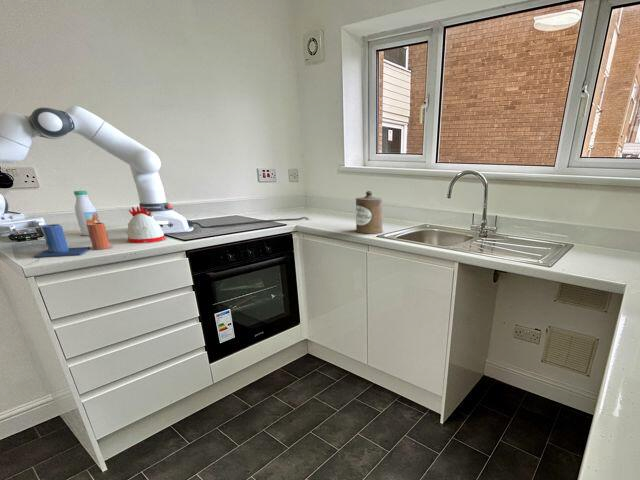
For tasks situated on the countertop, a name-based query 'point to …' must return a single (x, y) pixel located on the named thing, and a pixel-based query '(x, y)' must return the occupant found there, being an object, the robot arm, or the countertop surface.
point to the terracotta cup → (98, 235)
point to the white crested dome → (143, 228)
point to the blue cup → (55, 238)
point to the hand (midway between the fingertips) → (27, 226)
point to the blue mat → (70, 253)
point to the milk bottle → (84, 211)
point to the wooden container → (369, 214)
